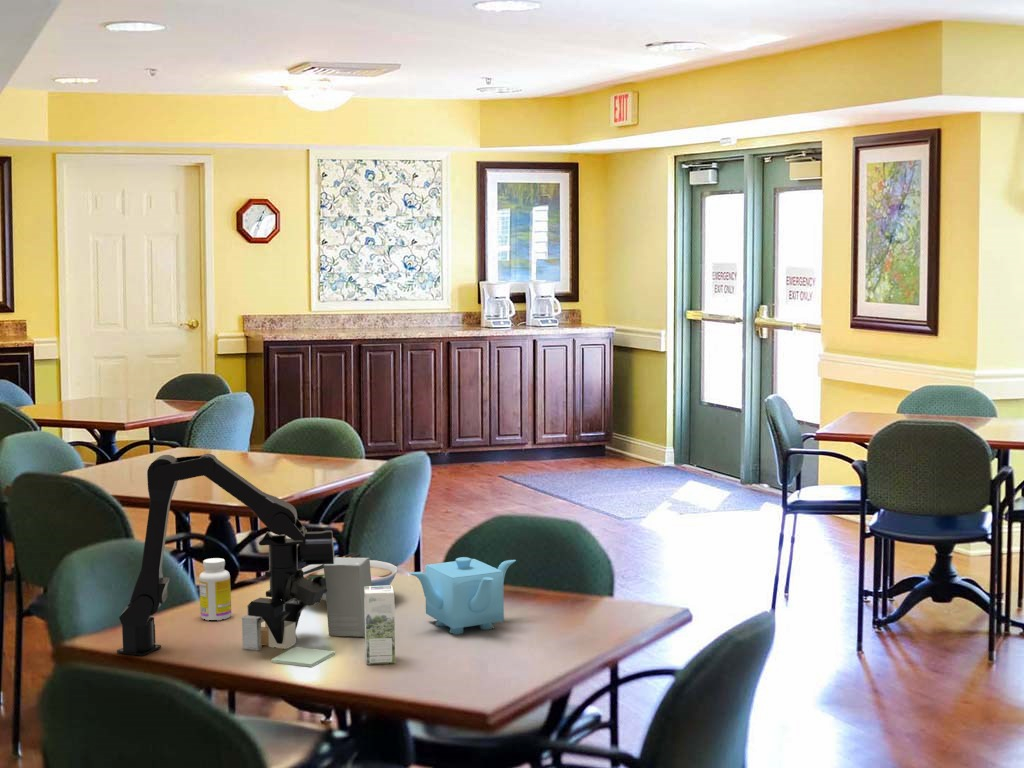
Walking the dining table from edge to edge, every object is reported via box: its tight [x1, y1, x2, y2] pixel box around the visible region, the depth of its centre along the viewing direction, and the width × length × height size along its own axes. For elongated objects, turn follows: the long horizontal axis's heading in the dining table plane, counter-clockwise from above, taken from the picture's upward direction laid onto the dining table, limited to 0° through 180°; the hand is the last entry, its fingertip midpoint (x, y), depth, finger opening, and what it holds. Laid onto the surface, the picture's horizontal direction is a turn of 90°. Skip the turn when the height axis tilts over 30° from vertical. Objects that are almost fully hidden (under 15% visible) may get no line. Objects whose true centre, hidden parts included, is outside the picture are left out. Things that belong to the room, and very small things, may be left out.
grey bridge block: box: [241, 614, 268, 651], centre depth 283 cm, size 10×4×6 cm, turn 158°
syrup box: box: [364, 584, 396, 665], centre depth 270 cm, size 6×6×14 cm
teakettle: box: [409, 556, 517, 635], centre depth 294 cm, size 19×19×15 cm
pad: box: [271, 646, 335, 668], centre depth 273 cm, size 9×9×1 cm
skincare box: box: [324, 556, 372, 638], centre depth 289 cm, size 8×7×16 cm
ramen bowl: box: [301, 552, 398, 601], centre depth 316 cm, size 25×23×8 cm
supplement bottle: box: [198, 557, 232, 621], centre depth 303 cm, size 7×7×13 cm
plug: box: [261, 621, 297, 650], centre depth 283 cm, size 4×10×4 cm, turn 68°
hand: (285, 640), depth 281 cm, fingers closed on plug, 4 cm apart
